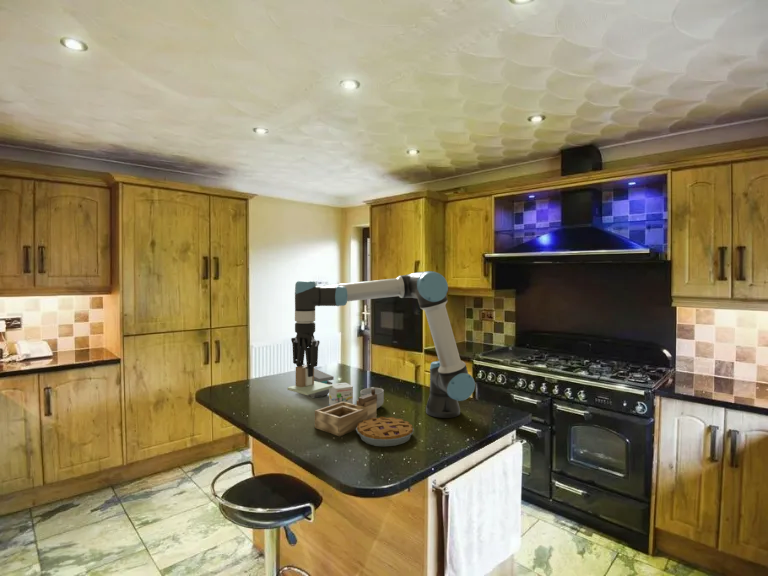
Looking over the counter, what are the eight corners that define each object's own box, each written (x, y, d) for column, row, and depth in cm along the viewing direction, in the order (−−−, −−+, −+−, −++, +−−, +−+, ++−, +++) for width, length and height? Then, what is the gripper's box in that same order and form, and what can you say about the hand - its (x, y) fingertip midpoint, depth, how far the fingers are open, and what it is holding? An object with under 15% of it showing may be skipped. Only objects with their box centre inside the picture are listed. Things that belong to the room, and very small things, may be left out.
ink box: (335, 414, 185) (335, 388, 184) (328, 409, 192) (328, 383, 192) (353, 412, 188) (353, 386, 188) (345, 406, 196) (346, 381, 196)
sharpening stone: (333, 398, 209) (333, 376, 209) (319, 401, 204) (319, 378, 204) (311, 387, 229) (311, 367, 229) (298, 389, 225) (298, 369, 225)
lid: (332, 388, 159) (332, 366, 158) (306, 395, 149) (306, 372, 149) (313, 383, 165) (313, 362, 165) (287, 389, 155) (287, 368, 155)
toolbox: (378, 420, 178) (378, 399, 178) (339, 436, 160) (339, 413, 160) (353, 413, 187) (353, 393, 186) (314, 427, 169) (314, 406, 168)
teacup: (380, 411, 189) (381, 394, 189) (357, 410, 191) (357, 392, 191) (386, 402, 203) (387, 386, 202) (364, 401, 205) (365, 384, 205)
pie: (368, 452, 146) (368, 438, 146) (348, 431, 166) (348, 418, 166) (424, 443, 155) (424, 429, 155) (398, 423, 175) (398, 411, 175)
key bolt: (376, 400, 181) (377, 389, 180) (363, 405, 174) (363, 393, 173) (372, 399, 182) (372, 388, 182) (358, 404, 175) (358, 392, 175)
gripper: (327, 322, 156) (327, 385, 157) (298, 319, 166) (298, 378, 167) (312, 324, 150) (312, 390, 151) (283, 321, 160) (282, 382, 161)
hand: (305, 383), depth 159 cm, fingers closed on lid, 3 cm apart
